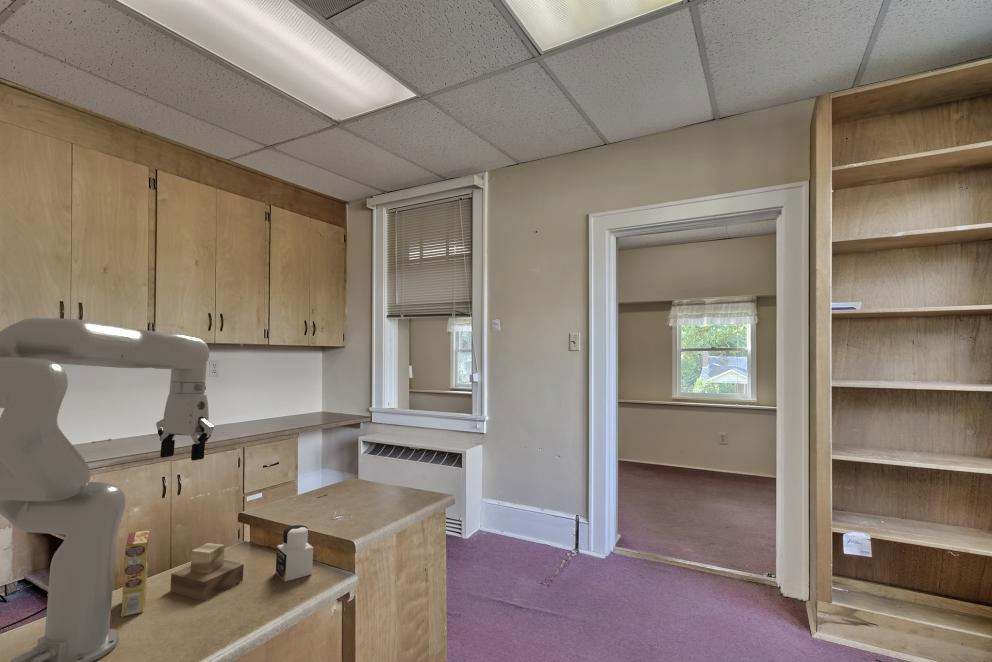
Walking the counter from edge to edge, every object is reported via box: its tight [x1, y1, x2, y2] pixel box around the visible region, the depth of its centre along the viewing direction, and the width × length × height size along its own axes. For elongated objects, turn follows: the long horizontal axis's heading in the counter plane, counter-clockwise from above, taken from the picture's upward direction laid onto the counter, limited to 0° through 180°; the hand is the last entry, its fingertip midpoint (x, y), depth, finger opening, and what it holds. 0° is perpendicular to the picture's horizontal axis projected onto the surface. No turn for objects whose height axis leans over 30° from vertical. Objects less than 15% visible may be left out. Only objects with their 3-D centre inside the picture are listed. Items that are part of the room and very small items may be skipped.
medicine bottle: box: [275, 524, 314, 582], centre depth 128 cm, size 7×7×12 cm
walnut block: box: [169, 559, 245, 601], centre depth 120 cm, size 11×11×4 cm
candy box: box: [120, 530, 150, 617], centre depth 109 cm, size 9×4×15 cm, turn 33°
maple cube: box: [190, 542, 226, 574], centre depth 120 cm, size 5×5×5 cm
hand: (182, 458), depth 121 cm, fingers open, 9 cm apart
